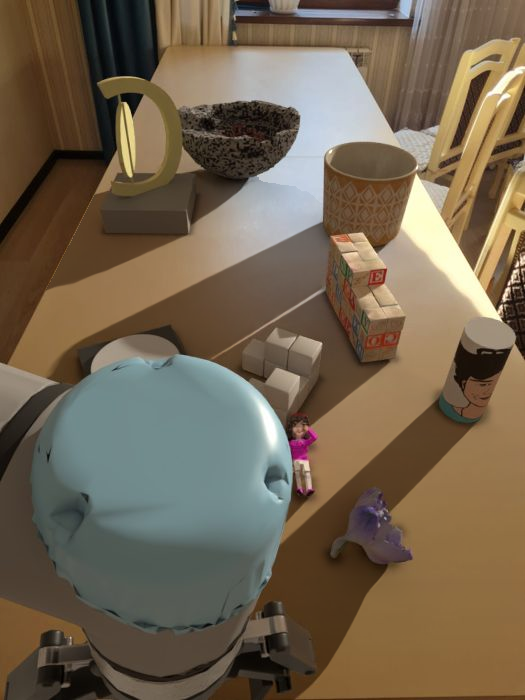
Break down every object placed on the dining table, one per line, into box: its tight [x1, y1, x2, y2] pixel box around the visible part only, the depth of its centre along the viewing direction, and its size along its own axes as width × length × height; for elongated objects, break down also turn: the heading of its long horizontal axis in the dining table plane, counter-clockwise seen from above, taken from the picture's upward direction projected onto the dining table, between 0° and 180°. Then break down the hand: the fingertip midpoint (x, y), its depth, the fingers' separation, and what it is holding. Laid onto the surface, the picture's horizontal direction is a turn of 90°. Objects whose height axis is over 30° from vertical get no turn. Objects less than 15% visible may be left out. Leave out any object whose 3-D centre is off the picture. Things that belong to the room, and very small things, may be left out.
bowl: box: [177, 99, 301, 180], centre depth 140 cm, size 31×31×15 cm
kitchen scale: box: [76, 324, 187, 378], centre depth 86 cm, size 16×18×3 cm
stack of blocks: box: [325, 233, 407, 363], centre depth 94 cm, size 21×6×12 cm, turn 12°
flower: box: [329, 486, 414, 565], centre depth 64 cm, size 9×9×10 cm
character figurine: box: [286, 412, 319, 498], centre depth 74 cm, size 6×5×12 cm
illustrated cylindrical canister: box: [438, 316, 517, 424], centre depth 79 cm, size 7×7×15 cm
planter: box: [322, 141, 419, 248], centre depth 117 cm, size 19×19×16 cm
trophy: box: [96, 75, 197, 235], centre depth 117 cm, size 19×19×30 cm
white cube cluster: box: [241, 327, 323, 430], centre depth 83 cm, size 12×12×8 cm
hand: (167, 696), depth 42 cm, fingers open, 13 cm apart
